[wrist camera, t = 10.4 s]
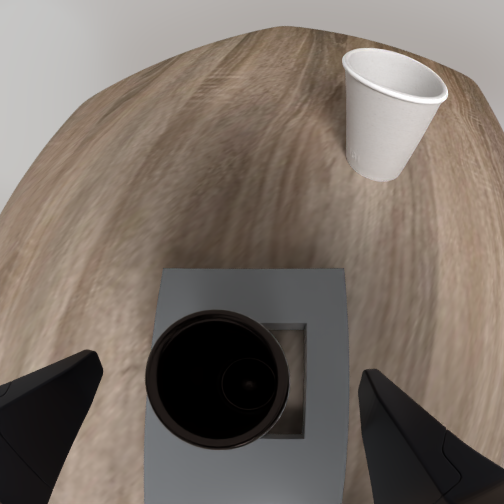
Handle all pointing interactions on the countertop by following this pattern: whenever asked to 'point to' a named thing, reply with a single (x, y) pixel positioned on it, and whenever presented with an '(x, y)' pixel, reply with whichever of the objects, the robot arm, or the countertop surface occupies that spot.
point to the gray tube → (217, 379)
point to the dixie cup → (387, 109)
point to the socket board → (270, 445)
